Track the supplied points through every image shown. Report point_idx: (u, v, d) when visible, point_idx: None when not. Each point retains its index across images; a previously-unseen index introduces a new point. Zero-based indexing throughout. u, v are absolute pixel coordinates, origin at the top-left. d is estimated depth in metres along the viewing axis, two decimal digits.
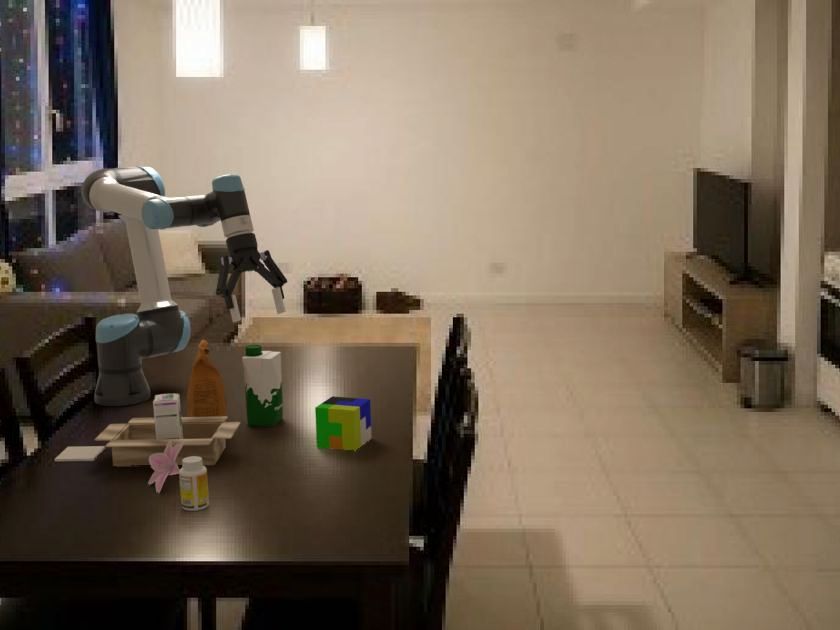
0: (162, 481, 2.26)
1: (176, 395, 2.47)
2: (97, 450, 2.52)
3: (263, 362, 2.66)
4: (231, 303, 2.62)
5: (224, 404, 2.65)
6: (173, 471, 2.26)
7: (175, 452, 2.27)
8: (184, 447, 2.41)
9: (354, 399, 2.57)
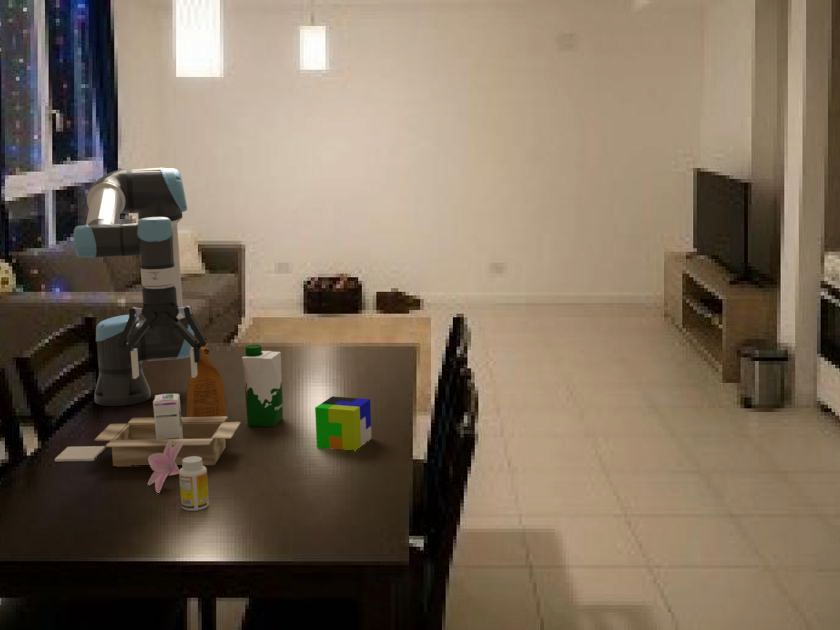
0: (162, 481, 2.25)
1: (176, 395, 2.47)
2: (97, 450, 2.52)
3: (263, 362, 2.66)
4: (130, 358, 2.43)
5: (224, 404, 2.65)
6: (173, 471, 2.26)
7: (175, 452, 2.27)
8: (184, 447, 2.41)
9: (354, 399, 2.57)
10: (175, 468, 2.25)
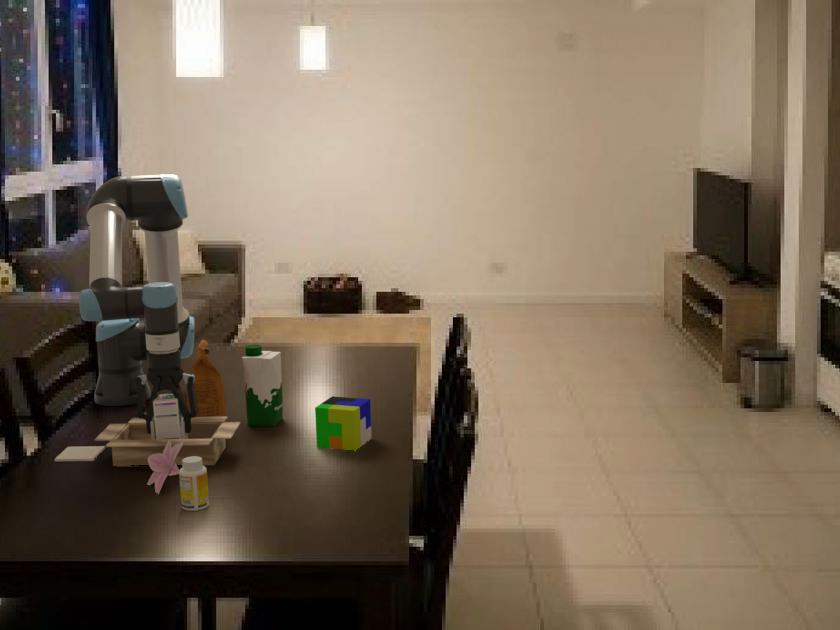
0: (161, 482, 2.25)
1: None
2: (97, 450, 2.52)
3: (263, 362, 2.66)
4: (149, 429, 2.46)
5: (224, 404, 2.65)
6: (172, 471, 2.25)
7: (174, 452, 2.27)
8: (184, 447, 2.41)
9: (354, 399, 2.57)
10: (175, 468, 2.25)
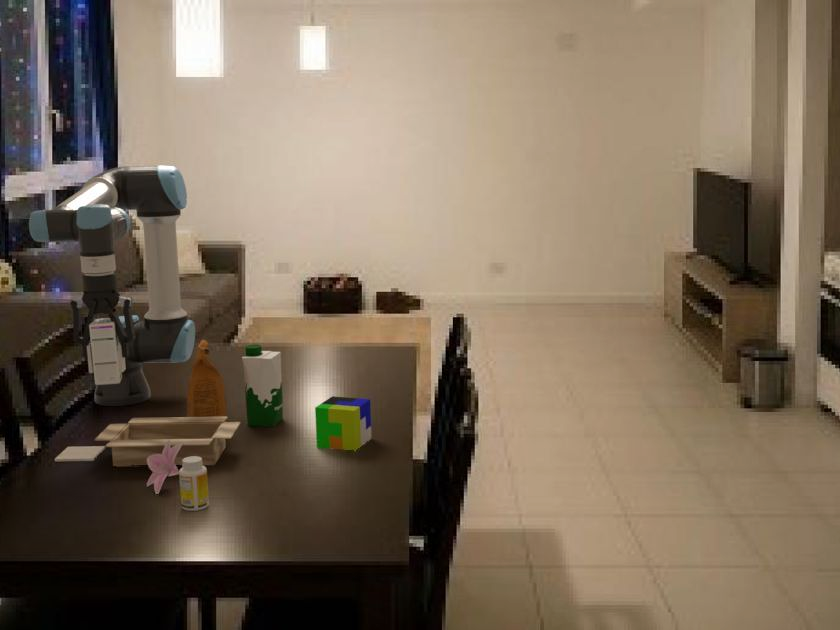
0: (161, 482, 2.25)
1: None
2: (97, 450, 2.52)
3: (263, 362, 2.66)
4: (86, 353, 2.45)
5: (224, 404, 2.65)
6: (172, 472, 2.25)
7: (174, 453, 2.27)
8: (184, 447, 2.41)
9: (354, 399, 2.57)
10: (174, 469, 2.25)
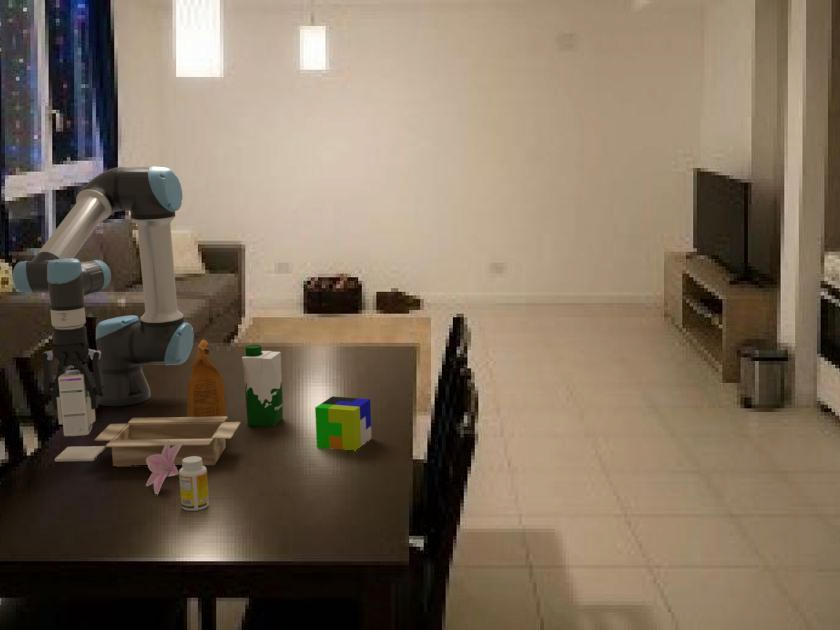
0: (160, 482, 2.25)
1: None
2: (97, 450, 2.52)
3: (263, 362, 2.66)
4: (56, 404, 2.48)
5: (224, 404, 2.65)
6: (171, 472, 2.25)
7: (173, 453, 2.27)
8: (184, 447, 2.41)
9: (354, 399, 2.57)
10: (174, 469, 2.25)
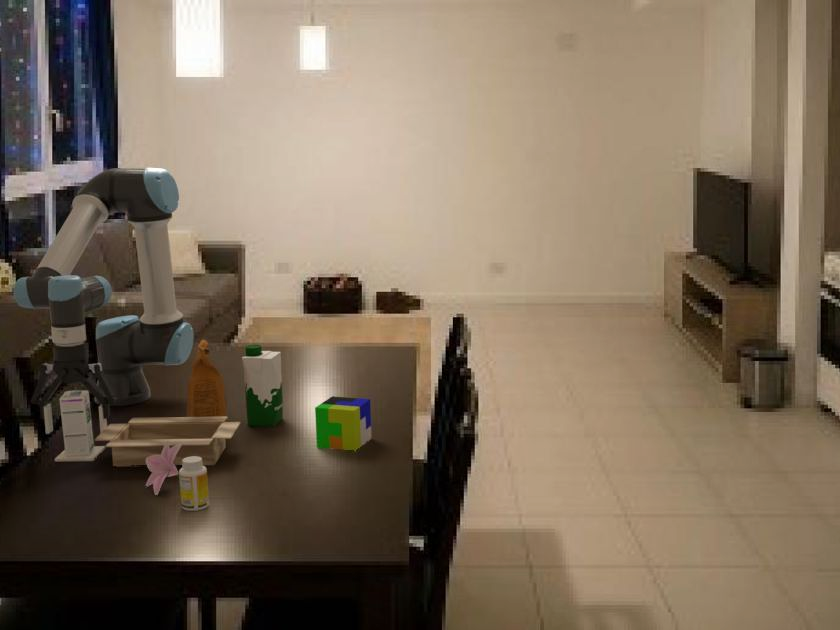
0: (160, 483, 2.25)
1: (84, 392, 2.49)
2: (97, 450, 2.52)
3: (263, 362, 2.66)
4: (43, 414, 2.48)
5: (224, 404, 2.65)
6: (171, 472, 2.25)
7: (173, 453, 2.27)
8: (184, 447, 2.41)
9: (354, 399, 2.57)
10: (173, 469, 2.25)
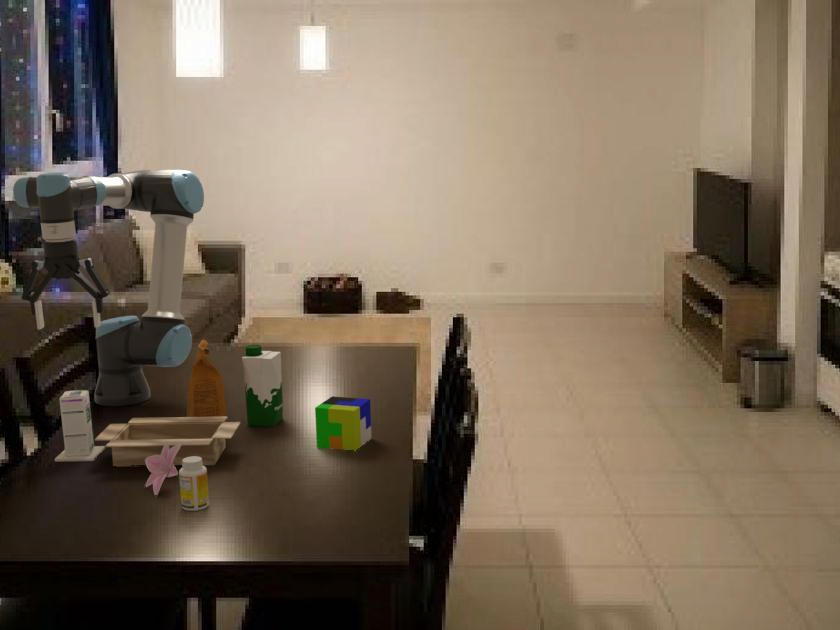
0: (160, 483, 2.24)
1: (84, 392, 2.49)
2: (97, 450, 2.52)
3: (263, 362, 2.66)
4: (34, 310, 2.52)
5: (224, 404, 2.65)
6: (171, 473, 2.25)
7: (173, 454, 2.26)
8: (184, 447, 2.41)
9: (354, 399, 2.57)
10: (173, 470, 2.25)
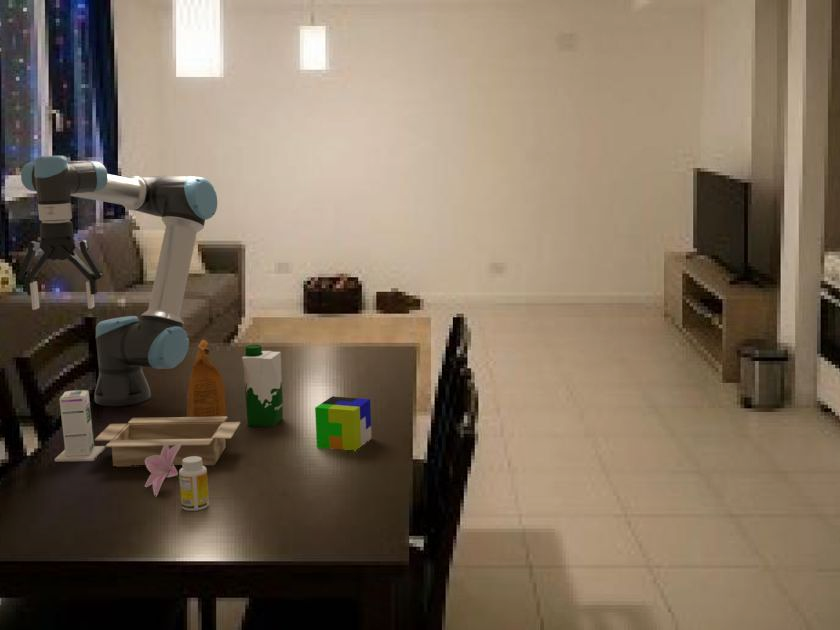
0: (159, 483, 2.24)
1: (84, 392, 2.49)
2: (97, 450, 2.52)
3: (263, 362, 2.66)
4: (29, 290, 2.57)
5: (224, 404, 2.65)
6: (170, 473, 2.25)
7: (172, 454, 2.26)
8: (184, 447, 2.41)
9: (354, 399, 2.57)
10: (173, 470, 2.24)
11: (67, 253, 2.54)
